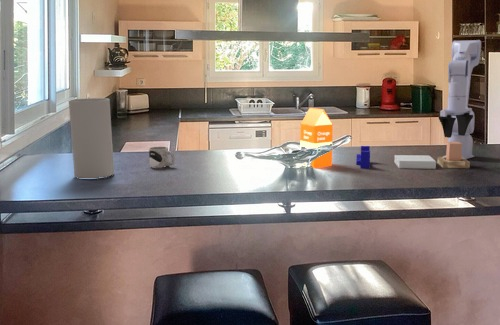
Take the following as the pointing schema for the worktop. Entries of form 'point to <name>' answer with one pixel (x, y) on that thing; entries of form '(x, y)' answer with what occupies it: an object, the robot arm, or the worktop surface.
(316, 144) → the orange juice
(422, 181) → the worktop surface
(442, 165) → the socket
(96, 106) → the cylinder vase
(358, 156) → the cable clip
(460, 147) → the block
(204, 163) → the worktop surface
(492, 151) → the worktop surface
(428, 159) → the platform
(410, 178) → the worktop surface
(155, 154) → the mug
